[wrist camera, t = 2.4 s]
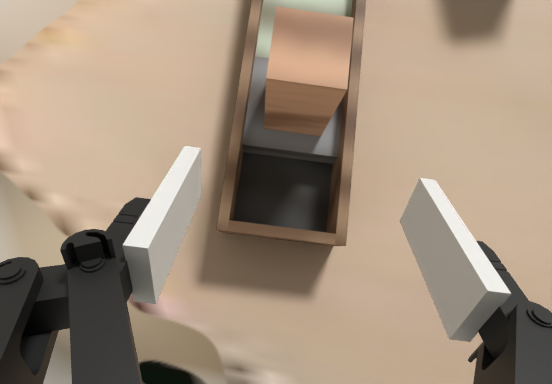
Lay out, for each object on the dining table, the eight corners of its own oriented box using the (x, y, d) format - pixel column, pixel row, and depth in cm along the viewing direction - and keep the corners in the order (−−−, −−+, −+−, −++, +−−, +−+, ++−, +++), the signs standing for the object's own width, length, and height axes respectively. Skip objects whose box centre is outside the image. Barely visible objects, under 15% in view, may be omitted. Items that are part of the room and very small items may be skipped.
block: (321, 136, 33) (347, 89, 23) (263, 128, 33) (266, 78, 23) (326, 83, 34) (353, 17, 25) (271, 75, 34) (276, 6, 24)
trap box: (333, 246, 34) (345, 245, 29) (222, 232, 34) (216, 229, 29) (359, -51, 41) (373, -92, 36) (267, -66, 41) (268, -109, 36)
